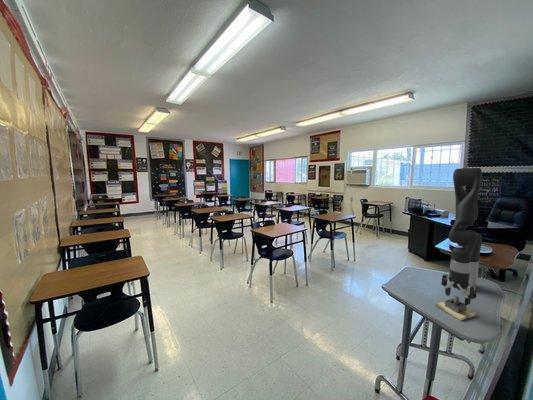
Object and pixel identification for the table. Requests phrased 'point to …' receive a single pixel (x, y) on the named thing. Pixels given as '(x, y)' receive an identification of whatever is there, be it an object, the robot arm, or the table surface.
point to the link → (455, 306)
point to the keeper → (460, 316)
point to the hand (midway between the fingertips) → (456, 299)
